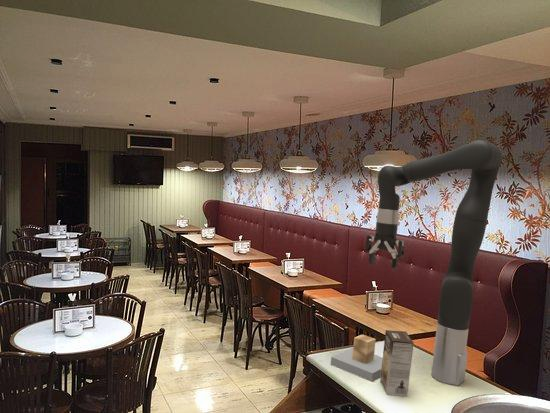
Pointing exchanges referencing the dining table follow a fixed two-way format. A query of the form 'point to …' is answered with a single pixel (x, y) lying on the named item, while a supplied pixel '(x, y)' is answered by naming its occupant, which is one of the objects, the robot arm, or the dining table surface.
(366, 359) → the oak block
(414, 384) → the dining table surface
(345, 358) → the slate base
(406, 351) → the coffee box
